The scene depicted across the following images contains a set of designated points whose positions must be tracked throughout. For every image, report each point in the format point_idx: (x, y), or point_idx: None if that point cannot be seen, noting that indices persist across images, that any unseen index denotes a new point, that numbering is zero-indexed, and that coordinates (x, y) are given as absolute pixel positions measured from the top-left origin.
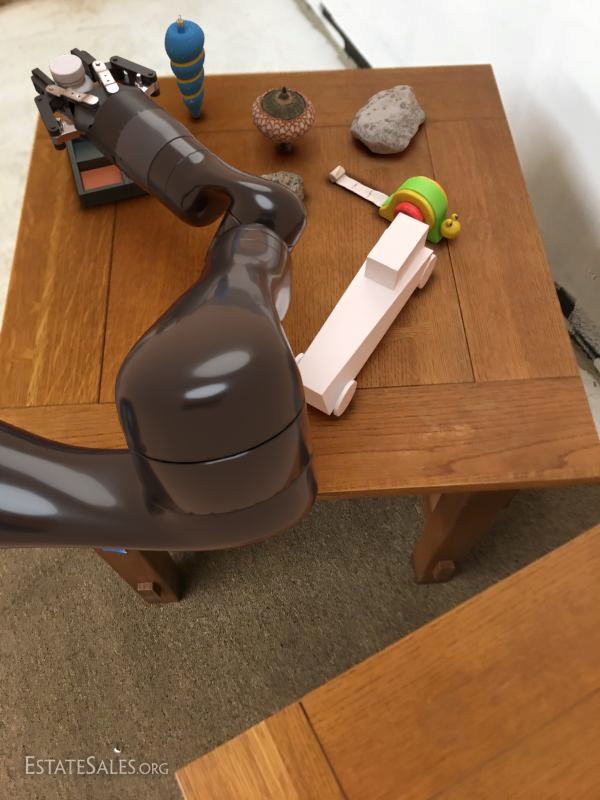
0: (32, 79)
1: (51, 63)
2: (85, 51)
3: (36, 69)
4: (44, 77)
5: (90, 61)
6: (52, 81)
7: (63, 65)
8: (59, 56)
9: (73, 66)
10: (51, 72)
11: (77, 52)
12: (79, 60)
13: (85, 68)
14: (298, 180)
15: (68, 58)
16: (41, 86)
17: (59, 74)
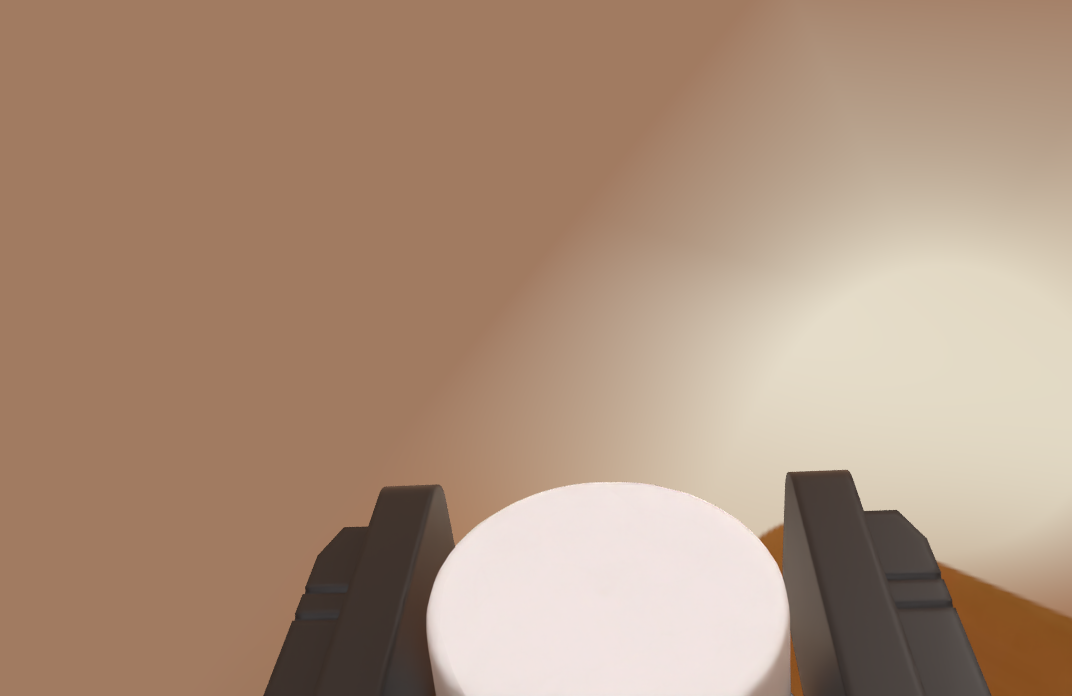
0: (323, 558)
1: (504, 520)
2: (917, 535)
3: (411, 499)
4: (373, 603)
5: (897, 683)
6: (374, 690)
7: (573, 597)
8: (627, 490)
9: (648, 670)
10: (430, 602)
11: (830, 518)
12: (766, 631)
13: (822, 689)
14: None
15: (683, 548)
16: (292, 666)
17: (445, 678)
